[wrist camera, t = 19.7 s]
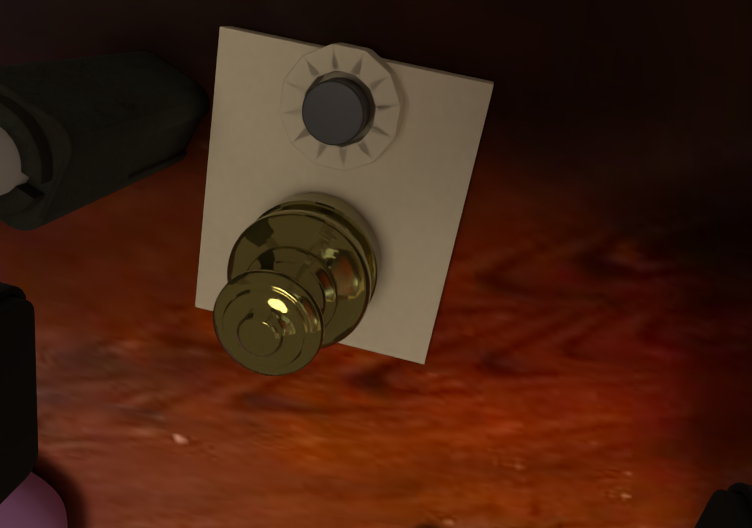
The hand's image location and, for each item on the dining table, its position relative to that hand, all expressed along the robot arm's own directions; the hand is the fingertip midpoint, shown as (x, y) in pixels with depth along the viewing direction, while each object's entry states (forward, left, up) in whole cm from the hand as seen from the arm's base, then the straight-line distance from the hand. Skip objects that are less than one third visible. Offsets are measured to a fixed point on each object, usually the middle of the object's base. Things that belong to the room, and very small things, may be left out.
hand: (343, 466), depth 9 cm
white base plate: (+5, -6, -28) cm, 29 cm away
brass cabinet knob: (+8, -6, -26) cm, 28 cm away
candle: (+2, -16, -28) cm, 32 cm away
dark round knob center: (0, -6, -25) cm, 26 cm away
